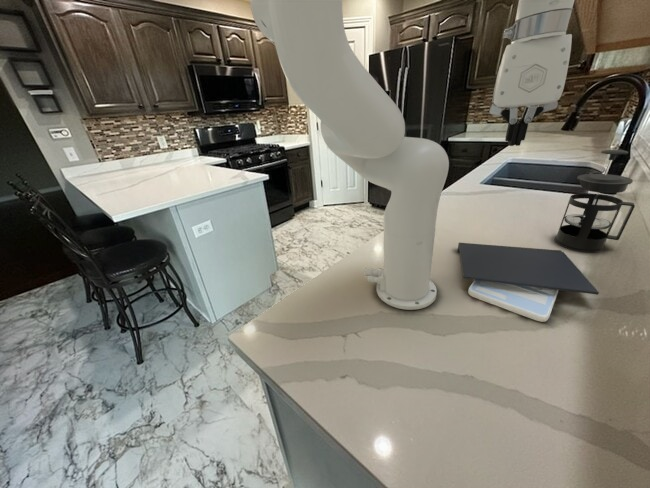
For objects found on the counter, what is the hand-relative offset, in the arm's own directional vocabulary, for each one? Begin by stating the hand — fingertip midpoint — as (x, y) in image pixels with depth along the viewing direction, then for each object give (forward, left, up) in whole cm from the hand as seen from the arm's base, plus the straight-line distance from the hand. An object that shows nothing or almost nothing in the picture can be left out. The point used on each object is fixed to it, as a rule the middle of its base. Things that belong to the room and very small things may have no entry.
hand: (513, 144), depth 53 cm
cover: (+4, -6, -25) cm, 26 cm away
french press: (+22, +12, -27) cm, 37 cm away
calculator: (+4, -10, -27) cm, 29 cm away
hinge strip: (+4, +2, -27) cm, 27 cm away
